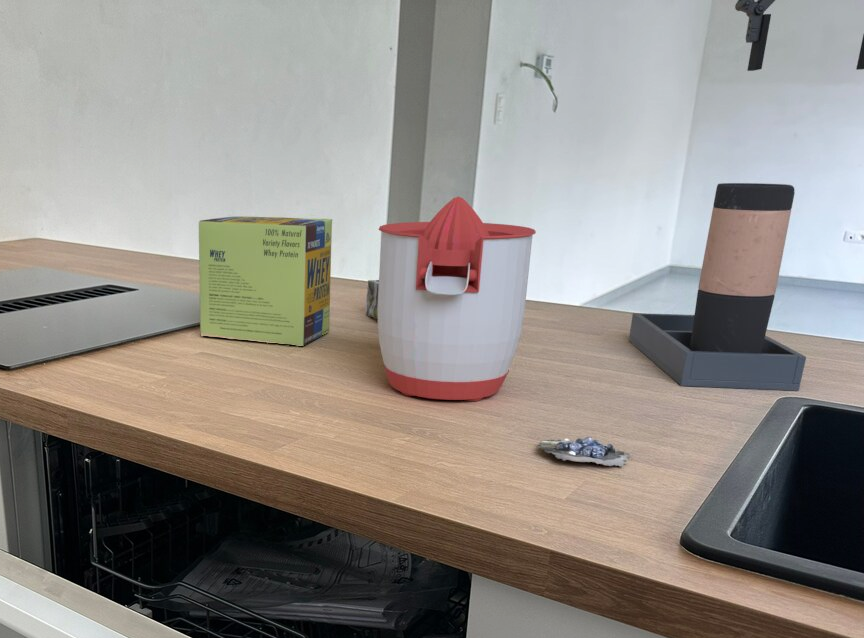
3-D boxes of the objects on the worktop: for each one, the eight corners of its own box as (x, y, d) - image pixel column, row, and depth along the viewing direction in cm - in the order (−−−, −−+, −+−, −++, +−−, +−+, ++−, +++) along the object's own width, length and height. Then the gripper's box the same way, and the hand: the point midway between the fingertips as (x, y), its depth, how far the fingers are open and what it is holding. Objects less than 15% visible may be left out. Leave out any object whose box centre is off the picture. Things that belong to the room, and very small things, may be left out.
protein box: (304, 347, 111) (307, 224, 106) (198, 337, 117) (196, 220, 112) (331, 332, 120) (334, 218, 115) (231, 323, 126) (230, 214, 121)
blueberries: (521, 448, 75) (523, 427, 74) (598, 439, 77) (600, 419, 76) (569, 475, 69) (572, 452, 68) (651, 464, 71) (655, 442, 70)
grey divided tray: (723, 344, 114) (728, 315, 113) (799, 391, 93) (806, 356, 91) (628, 340, 116) (632, 313, 115) (680, 386, 94) (686, 352, 93)
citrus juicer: (357, 407, 86) (366, 200, 79) (381, 366, 102) (390, 191, 95) (519, 420, 82) (542, 204, 76) (518, 376, 98) (537, 193, 91)
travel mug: (670, 360, 101) (700, 183, 94) (723, 356, 103) (756, 182, 96) (719, 376, 94) (755, 186, 88) (775, 372, 96) (814, 185, 90)
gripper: (750, -123, 104) (719, 68, 111) (974, -132, 101) (928, 65, 108) (727, -106, 111) (699, 72, 118) (936, -114, 108) (895, 70, 115)
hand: (809, 69), depth 113 cm, fingers open, 13 cm apart
